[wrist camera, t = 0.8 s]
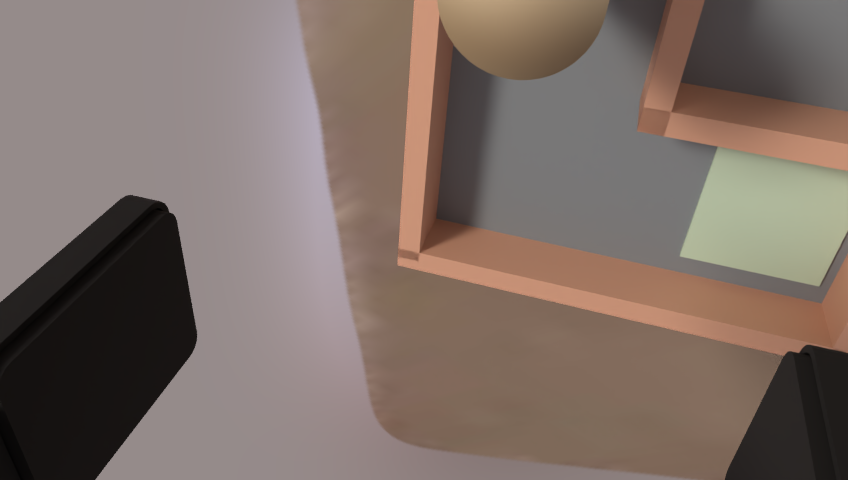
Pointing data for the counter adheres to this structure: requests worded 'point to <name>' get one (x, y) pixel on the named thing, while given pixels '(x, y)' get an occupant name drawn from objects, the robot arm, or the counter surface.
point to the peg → (522, 33)
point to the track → (647, 170)
